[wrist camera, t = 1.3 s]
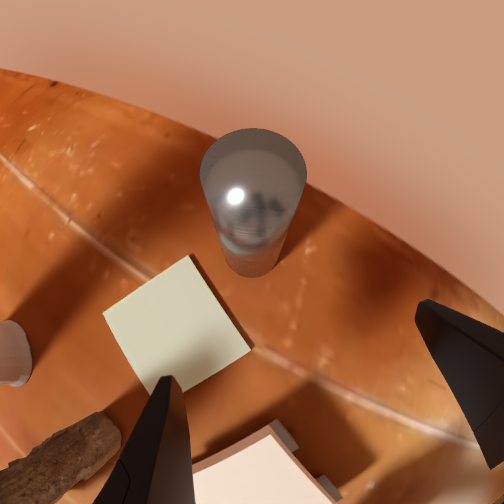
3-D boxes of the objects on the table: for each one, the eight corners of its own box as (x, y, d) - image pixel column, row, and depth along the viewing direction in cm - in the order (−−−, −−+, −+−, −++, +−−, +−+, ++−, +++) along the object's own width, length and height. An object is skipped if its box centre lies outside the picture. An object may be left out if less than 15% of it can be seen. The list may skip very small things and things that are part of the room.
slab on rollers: (339, 490, 18) (356, 517, 13) (246, 537, 16) (245, 568, 11) (271, 409, 20) (277, 430, 15) (171, 463, 19) (155, 489, 14)
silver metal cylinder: (289, 257, 23) (327, 183, 11) (244, 288, 23) (237, 240, 11) (258, 215, 24) (265, 114, 12) (214, 243, 24) (181, 159, 12)
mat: (251, 349, 22) (251, 350, 21) (159, 405, 20) (157, 406, 20) (188, 256, 23) (187, 254, 23) (104, 313, 22) (102, 313, 22)
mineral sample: (105, 405, 20) (-22, 456, 5) (137, 439, 19) (34, 526, 5) (35, 476, 17) (-49, 516, 2) (59, 502, 16) (-17, 555, 1)
